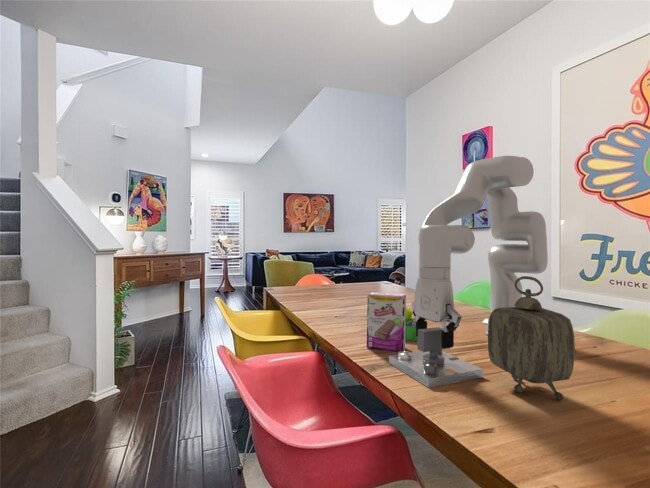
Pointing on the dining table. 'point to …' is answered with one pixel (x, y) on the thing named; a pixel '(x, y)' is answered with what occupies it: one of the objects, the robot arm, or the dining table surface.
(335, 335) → the dining table surface
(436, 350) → the knob
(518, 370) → the tabletop clock
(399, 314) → the candy bar box
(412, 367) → the levelling base
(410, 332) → the fruit basket
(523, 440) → the dining table surface
